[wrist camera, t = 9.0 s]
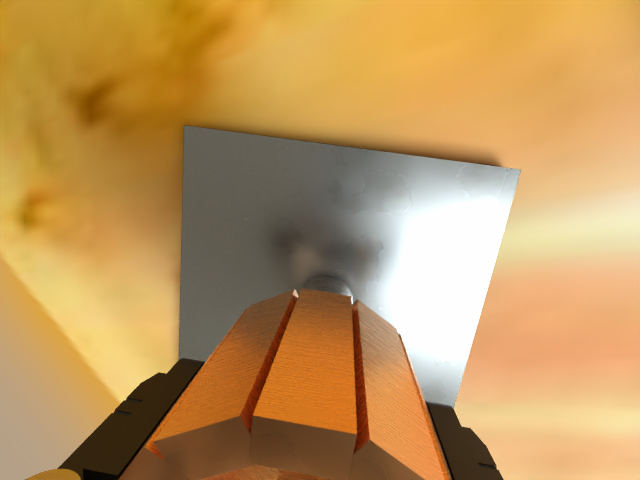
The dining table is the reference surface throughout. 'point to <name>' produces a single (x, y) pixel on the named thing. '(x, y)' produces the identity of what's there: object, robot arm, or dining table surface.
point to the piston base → (340, 240)
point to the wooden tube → (299, 402)
